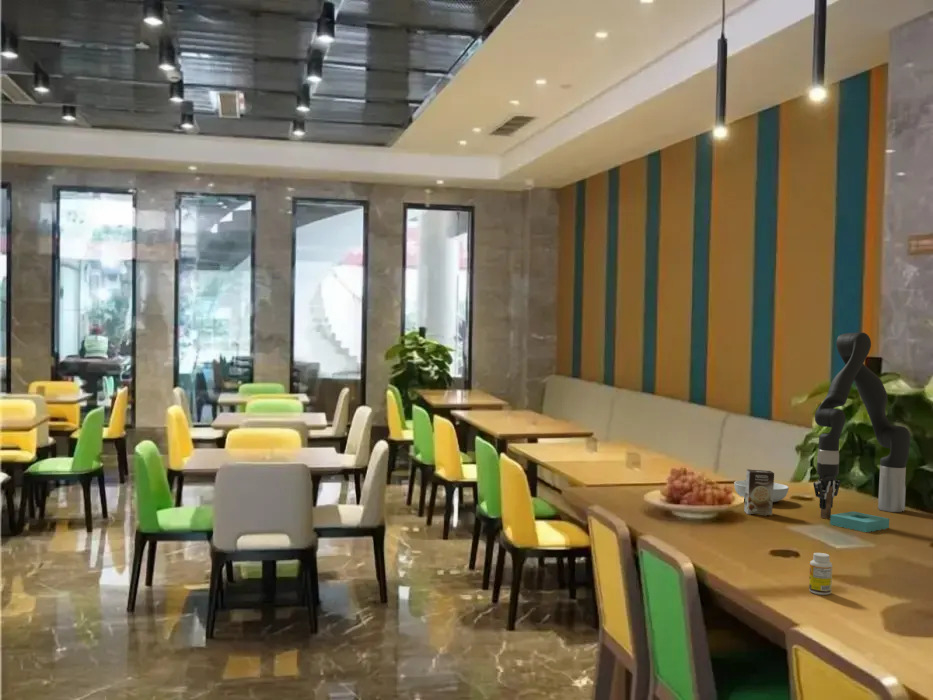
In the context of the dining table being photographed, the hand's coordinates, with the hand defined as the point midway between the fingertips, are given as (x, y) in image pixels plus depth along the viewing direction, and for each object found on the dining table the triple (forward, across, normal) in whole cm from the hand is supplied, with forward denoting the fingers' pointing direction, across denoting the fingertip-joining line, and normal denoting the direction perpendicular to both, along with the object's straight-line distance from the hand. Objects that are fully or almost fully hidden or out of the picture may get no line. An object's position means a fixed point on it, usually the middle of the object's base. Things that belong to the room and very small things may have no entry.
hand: (825, 508), depth 349 cm
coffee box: (+4, +17, -17) cm, 24 cm away
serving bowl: (+4, -5, -33) cm, 34 cm away
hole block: (+4, +2, +15) cm, 16 cm away
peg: (+4, 0, 0) cm, 4 cm away
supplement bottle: (+4, +89, +59) cm, 107 cm away
